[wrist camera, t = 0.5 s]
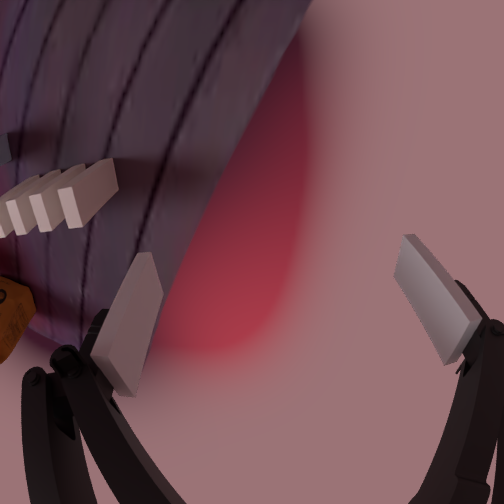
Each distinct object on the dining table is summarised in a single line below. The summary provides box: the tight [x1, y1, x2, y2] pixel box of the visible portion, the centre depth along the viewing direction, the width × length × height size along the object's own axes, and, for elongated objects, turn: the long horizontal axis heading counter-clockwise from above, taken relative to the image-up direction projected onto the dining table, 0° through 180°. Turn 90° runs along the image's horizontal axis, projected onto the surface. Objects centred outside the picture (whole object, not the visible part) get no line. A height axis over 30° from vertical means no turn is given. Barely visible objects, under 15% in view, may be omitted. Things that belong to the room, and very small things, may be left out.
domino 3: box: [6, 169, 61, 235], centre depth 33 cm, size 5×2×12 cm, turn 2°
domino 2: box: [0, 175, 40, 238], centre depth 33 cm, size 5×2×12 cm, turn 2°
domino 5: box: [58, 158, 119, 229], centre depth 33 cm, size 5×2×12 cm, turn 3°
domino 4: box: [29, 163, 86, 232], centre depth 33 cm, size 5×2×12 cm, turn 2°
